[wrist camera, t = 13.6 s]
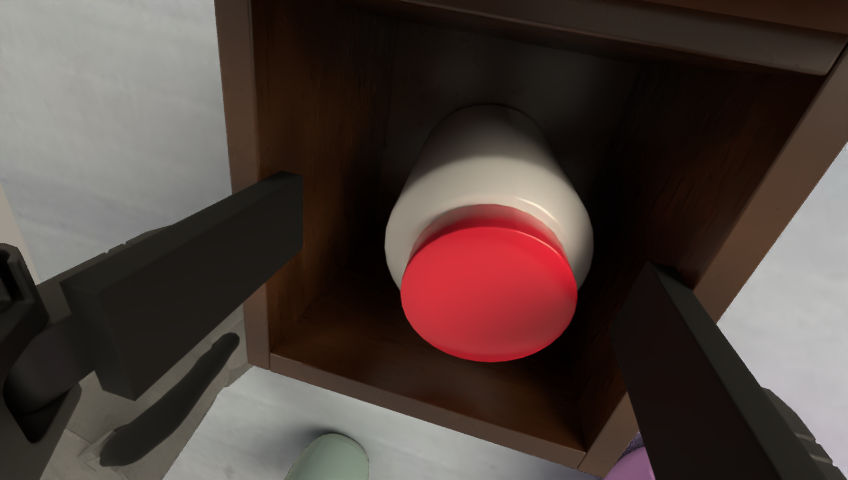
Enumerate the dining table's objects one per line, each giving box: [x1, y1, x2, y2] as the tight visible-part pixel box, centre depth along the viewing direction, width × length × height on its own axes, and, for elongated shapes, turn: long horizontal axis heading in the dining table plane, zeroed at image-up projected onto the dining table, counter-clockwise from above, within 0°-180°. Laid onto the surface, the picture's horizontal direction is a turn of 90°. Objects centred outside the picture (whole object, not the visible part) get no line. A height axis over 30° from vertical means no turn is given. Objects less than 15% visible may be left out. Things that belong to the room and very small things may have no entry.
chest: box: [214, 0, 848, 478], centre depth 16 cm, size 14×14×13 cm
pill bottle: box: [384, 105, 594, 362], centre depth 16 cm, size 8×8×11 cm
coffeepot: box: [40, 304, 254, 480], centre depth 23 cm, size 15×9×18 cm, turn 124°
